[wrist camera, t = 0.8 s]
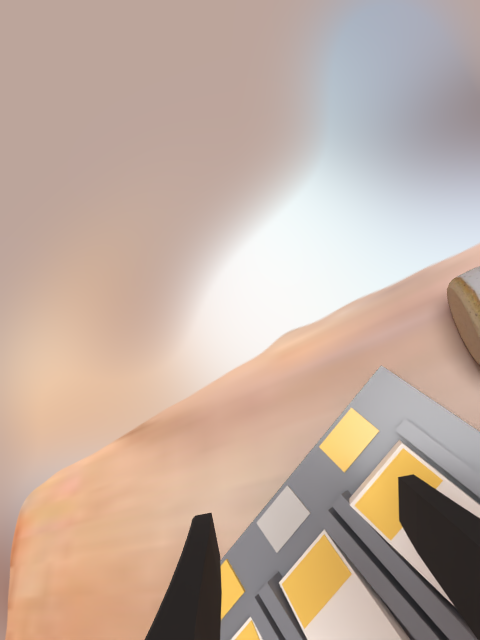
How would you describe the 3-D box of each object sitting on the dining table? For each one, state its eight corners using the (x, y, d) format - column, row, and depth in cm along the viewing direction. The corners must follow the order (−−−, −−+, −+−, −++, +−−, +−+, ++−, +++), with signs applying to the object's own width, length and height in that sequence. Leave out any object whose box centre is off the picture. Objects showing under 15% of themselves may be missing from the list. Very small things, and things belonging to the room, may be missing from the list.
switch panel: (665, 564, 15) (756, 612, 11) (328, 917, 17) (299, 1069, 13) (384, 372, 24) (378, 359, 20) (190, 607, 26) (149, 638, 22)
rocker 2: (540, 553, 15) (554, 565, 14) (478, 622, 15) (487, 638, 14) (399, 439, 18) (402, 443, 17) (349, 498, 18) (349, 505, 17)
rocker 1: (449, 693, 14) (445, 702, 13) (382, 765, 14) (375, 777, 13) (330, 528, 20) (323, 529, 19) (286, 580, 20) (278, 583, 20)
